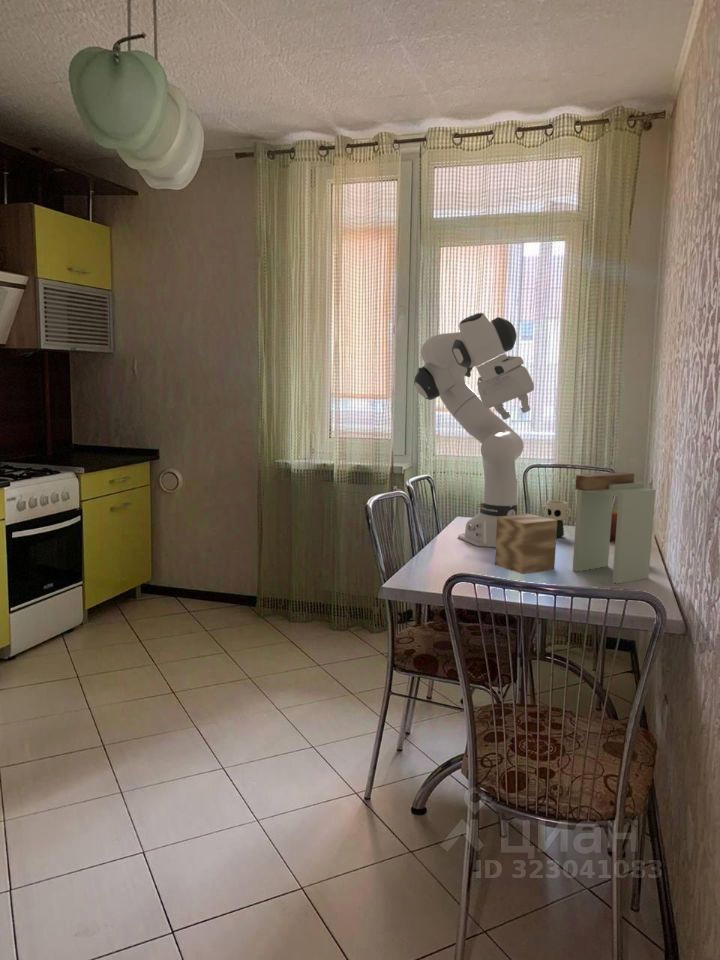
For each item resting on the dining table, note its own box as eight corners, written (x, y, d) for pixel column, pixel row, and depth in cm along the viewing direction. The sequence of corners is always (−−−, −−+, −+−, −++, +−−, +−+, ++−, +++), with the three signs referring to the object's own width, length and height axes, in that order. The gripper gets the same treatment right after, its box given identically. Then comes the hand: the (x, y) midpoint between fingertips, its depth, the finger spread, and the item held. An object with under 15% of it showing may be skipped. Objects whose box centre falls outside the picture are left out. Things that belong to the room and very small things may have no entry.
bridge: (572, 570, 216) (578, 479, 212) (603, 565, 223) (610, 477, 220) (616, 583, 203) (623, 487, 199) (648, 577, 210) (656, 484, 206)
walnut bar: (575, 489, 203) (576, 475, 203) (621, 485, 214) (622, 472, 213) (586, 491, 200) (587, 476, 200) (633, 487, 211) (634, 473, 210)
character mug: (536, 535, 266) (539, 501, 264) (544, 533, 271) (546, 499, 270) (565, 540, 259) (567, 504, 258) (572, 537, 265) (575, 502, 263)
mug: (593, 539, 262) (595, 511, 260) (597, 535, 269) (599, 508, 268) (628, 543, 256) (630, 515, 255) (631, 539, 264) (633, 511, 263)
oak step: (494, 564, 221) (497, 516, 219) (525, 560, 228) (528, 513, 226) (522, 574, 211) (525, 523, 209) (554, 569, 218) (557, 520, 216)
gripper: (467, 383, 206) (487, 426, 207) (507, 364, 187) (530, 412, 188) (483, 374, 208) (504, 418, 209) (525, 355, 190) (547, 402, 191)
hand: (516, 415), depth 199 cm, fingers open, 8 cm apart
